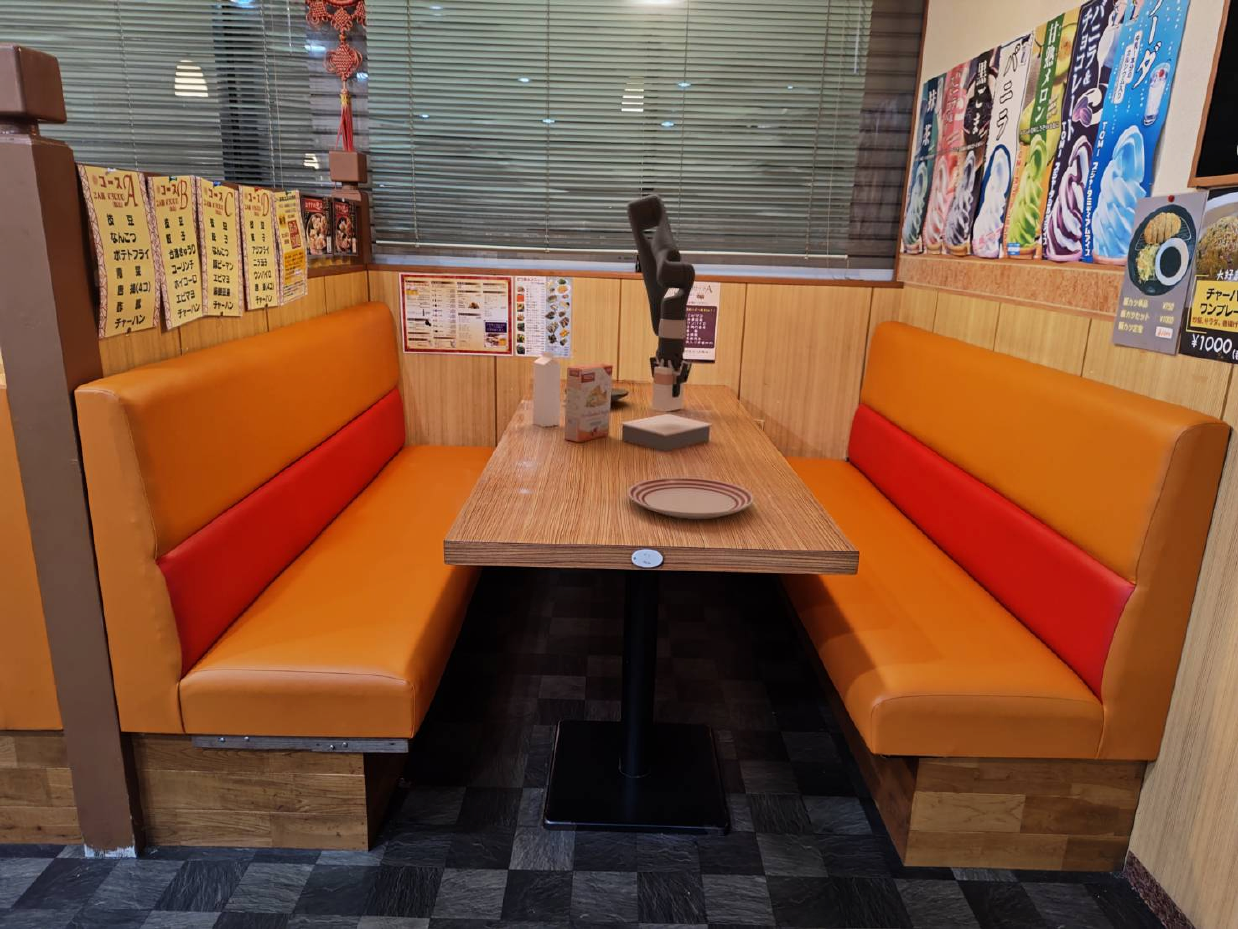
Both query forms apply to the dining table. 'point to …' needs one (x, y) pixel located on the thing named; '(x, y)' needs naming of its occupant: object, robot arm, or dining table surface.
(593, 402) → the cracker box
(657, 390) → the cream carton
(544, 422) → the milk
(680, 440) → the plate
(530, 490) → the dining table surface
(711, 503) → the dinner plate
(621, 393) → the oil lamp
